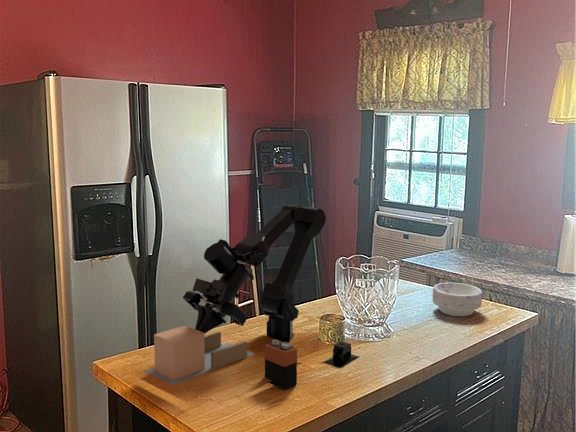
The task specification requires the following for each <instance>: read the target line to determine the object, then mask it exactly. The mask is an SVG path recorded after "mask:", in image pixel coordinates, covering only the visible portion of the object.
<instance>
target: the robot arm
mask: <svg viewBox="0 0 576 432" xmlns="http://www.w3.org/2000/svg"><path fill="white" fill-rule="evenodd" d="M326 221H327V216H326V213H325V211H324V210H323V209H322V208H318V207H317V208H316V207H310V206H309V207H308V206H301V207H300V206H298V205H293V204H286V205H283V206H282V207H281V210H280V211H279V212H277V214H276V215H275V216H273V217H272V218H271V219H270V220H269V221H268V222H267V223H266V224H265V225H264V226H262V228H261V229H260V230H259V231H257V233H254V234H252V235H250V236H246V237H245V238H243V239H242V240H240V241H239V242H237V244H236V245H234V246H233V247H231V246H230V245H229V243H228V241H227V240H225V239H222V238H221V239H219V240H218V241H217V242H215V243H213V244H211V245H210V246H208V247H207V248H206V250H205V251H204V253H203V259H204V260H205V261H206V262H207V263H208V264H209V265H210V266H211V267H212V268H213V270H214V271H215V272H216V273H218V274H220V275H221V276H220V277H219V279H216V278H215V279H213V280H212V281H211V282H210V281H208V280H204V279H201V278H197V277H196V278H195V281H194V283H193V284H194V285H193V286H192V290H188V291H185V294H184V295H183V296H182V299H183V300H184V302H186V303H187V304H188V305H189V306H190V307H191V308H192V309H194V310H195V311H197V313H198V315H197V320H196V323H195V324H196V325H195V328H194V329H195V330H198V331H201V332H203V333H204V335H206V334H207V333H208V332H210V331H212V330H213V329H215V328H216V327H219V326H220V325H222V324H227V321H226V319H227V318H228V317H231V318H233V322H234V324H235V325H238V326H242V327H244V325H245V323H246V321H247V318H248V317H247V313H245V311H244V310H243V309H242V308H241V307H240V306H239V305H238V304H236V303H235V304H234V303H232V302H233V300H234V299H239V298H240V294H239V291H240V289H241V288H242V286H243V285H244V283H245V282H246V280H251V281H254V280H255V278H254V272H253V269H251V268H247V266H246V265H248V266H253V267H258V266H260V265H262V263H263V262H264V261H265V259H267V256H268V255H269V251H270V248H271V247H272V245H273V244H274V243H275V242H276V241H277V240H278V239H279V238H281V236H282V235H283V234H284V233H285V232H286V231H287V230H288V229H290V227H291V226H292V225H293V228H294V229H293V230H294V235H293V237H292V239H291V242H290V244H289V246H288V249H287V250H286V251H287V252H286V254H285V256H284V259H283V261H282V263H281V266H280V267H279V271H278V273H277V275H276V278H275V280H273V281H272V282H269V281H267V282H266V283H265V285H264V287H263V290H262V292H261V293H260V296H261V297H260V299H259V303H260V306H261V309H262V311H263V314H264V315H263V316H268V320H267V321H266V337H268V338H270V339H273V340H279V341H280V342H283V343H284V342H285V343H290V342H291V340H292V339H293V338H294V335H295V333H294V332H293V331H294V330H293V325H294V324H293V322H294V321H295V319H297V318H298V317H299V312H300V310H299V309H298V308H297V307H296V305H294V304H293V303H294V298H295V297H294V289H293V285H294V283H295V281H296V278H297V275H298V274H299V271H300V269H301V266H302V264H303V261H304V258H305V255H306V253H307V251H308V248H309V246H310V243H311V241H312V240H313V239H314V238H315V237H316V236H317V235H319V234H320V233H321V231H322V229H323V228H324V226H325V224H326Z"/></svg>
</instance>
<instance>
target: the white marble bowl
mask: <svg viewBox="0 0 576 432" xmlns="http://www.w3.org/2000/svg"><path fill="white" fill-rule="evenodd" d="M482 301H483V291H482V289H480V288H479V287H477V286H474V285H472V284H468V283H462V282H461V283H460V282H439V283H437V284H435V285H433V287H432V303H433V304H434V305H436V306H437V307H438V309H439V311H440V312H441V313H443V314H445V315H448V316H451V317H468V316H470V315H472V314H473V313H474V312H475V311H476V310H477V309H480V308H481V307H482Z"/></svg>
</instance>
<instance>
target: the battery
mask: <svg viewBox="0 0 576 432" xmlns="http://www.w3.org/2000/svg"><path fill="white" fill-rule="evenodd" d="M297 368H298V348H297V347H295V346H293V345H292V344H291V343H290V342H282V341H279V340H276V339H273V340H272V341H271V342H269V343H266V344H265V345H264V378H265V379H268V380H270V381H268V383H269V384H270V385H272V386H275V387H276V388H278V389H282V390H287V389H289V388H292V387H294V386H296V385H297V383H298V382H297V381H298V380H297V378H298V377H297V376H298V375H297V373H298V369H297Z"/></svg>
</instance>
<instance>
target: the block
mask: <svg viewBox="0 0 576 432" xmlns="http://www.w3.org/2000/svg"><path fill="white" fill-rule="evenodd" d="M204 336H205V334H204V333H203V332H201V331H198V330H195V328H193V327H189V326H187V325H182V326H177V327H175V328H172V329H168V330H165V331H161V332H159V333H154V334H153V344H154V345H153V347H154V348H153V349H154V368H155V371H156V372H158V373H160V374H162V375H164V376H167V377H169V378H171V379H173V380H176V379H179V378H181V377H184V376H187V375H190V374H192V373H195V372H198V371H200V370H203V369H205V343H204Z"/></svg>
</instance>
